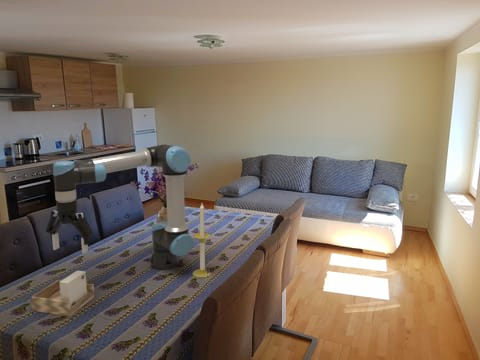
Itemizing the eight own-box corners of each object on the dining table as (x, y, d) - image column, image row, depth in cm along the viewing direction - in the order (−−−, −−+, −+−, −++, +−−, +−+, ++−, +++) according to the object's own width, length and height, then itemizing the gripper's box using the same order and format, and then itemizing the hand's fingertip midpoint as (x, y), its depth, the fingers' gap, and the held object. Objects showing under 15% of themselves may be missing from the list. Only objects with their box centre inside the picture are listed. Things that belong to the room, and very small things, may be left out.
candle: (189, 276, 183) (187, 203, 175) (198, 268, 192) (197, 198, 185) (207, 279, 179) (206, 205, 172) (215, 271, 189) (215, 200, 181)
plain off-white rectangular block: (87, 297, 159) (86, 271, 157) (71, 310, 149) (68, 283, 146) (79, 295, 160) (77, 270, 158) (61, 309, 150) (59, 282, 147)
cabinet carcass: (94, 296, 162) (93, 284, 160) (70, 316, 146) (68, 302, 145) (59, 291, 166) (58, 279, 164) (32, 310, 150) (30, 297, 149)
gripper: (99, 200, 147) (103, 249, 151) (46, 196, 152) (51, 244, 156) (88, 204, 139) (91, 257, 144) (32, 200, 145) (37, 250, 149)
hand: (70, 250), depth 150 cm, fingers open, 13 cm apart
